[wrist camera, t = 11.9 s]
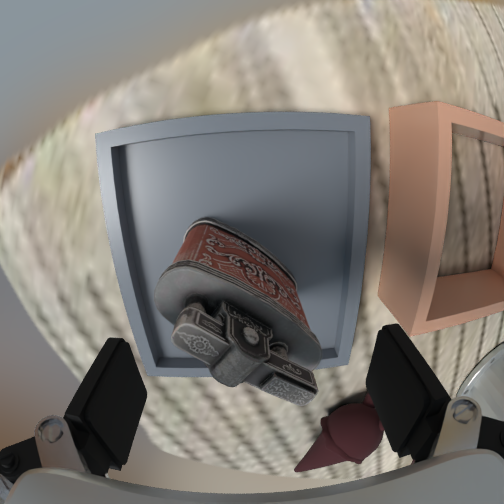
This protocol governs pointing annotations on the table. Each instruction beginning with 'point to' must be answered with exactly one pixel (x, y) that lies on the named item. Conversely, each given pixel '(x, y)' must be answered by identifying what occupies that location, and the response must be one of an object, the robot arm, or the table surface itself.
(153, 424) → the table surface
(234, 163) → the tray
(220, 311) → the lighter
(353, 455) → the icecream
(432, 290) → the pink open box
